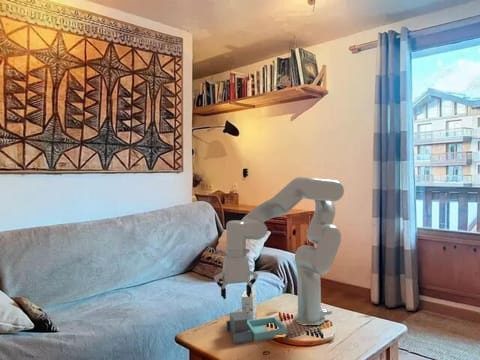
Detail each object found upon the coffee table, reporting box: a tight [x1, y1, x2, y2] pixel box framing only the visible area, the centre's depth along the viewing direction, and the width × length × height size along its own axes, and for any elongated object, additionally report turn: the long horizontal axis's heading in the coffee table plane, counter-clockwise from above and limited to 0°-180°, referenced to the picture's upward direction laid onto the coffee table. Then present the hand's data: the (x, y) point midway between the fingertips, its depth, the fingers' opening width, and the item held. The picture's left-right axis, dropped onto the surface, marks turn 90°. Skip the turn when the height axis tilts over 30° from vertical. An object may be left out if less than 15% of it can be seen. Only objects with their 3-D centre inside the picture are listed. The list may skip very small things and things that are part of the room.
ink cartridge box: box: [241, 283, 257, 320], centre depth 166 cm, size 9×5×15 cm, turn 168°
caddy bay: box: [225, 319, 253, 345], centre depth 152 cm, size 7×12×4 cm, turn 14°
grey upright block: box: [229, 310, 247, 338], centre depth 151 cm, size 5×8×8 cm, turn 14°
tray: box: [247, 316, 288, 343], centre depth 154 cm, size 13×13×3 cm
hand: (236, 296), depth 151 cm, fingers open, 9 cm apart
